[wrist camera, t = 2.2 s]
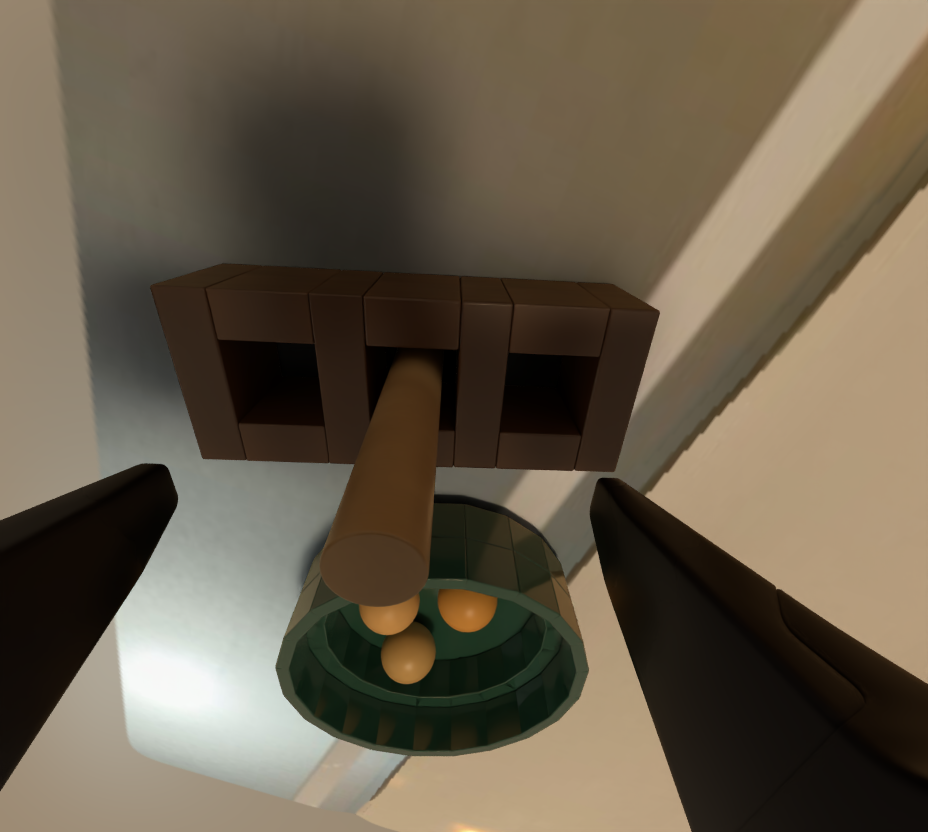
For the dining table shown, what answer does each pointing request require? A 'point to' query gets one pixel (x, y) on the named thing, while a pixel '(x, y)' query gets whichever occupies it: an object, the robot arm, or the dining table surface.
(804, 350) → the dining table surface
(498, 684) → the bowl
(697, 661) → the robot arm
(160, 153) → the dining table surface
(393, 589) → the stick
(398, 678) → the bead
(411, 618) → the bead
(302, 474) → the dining table surface
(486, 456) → the rack
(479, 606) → the bead
